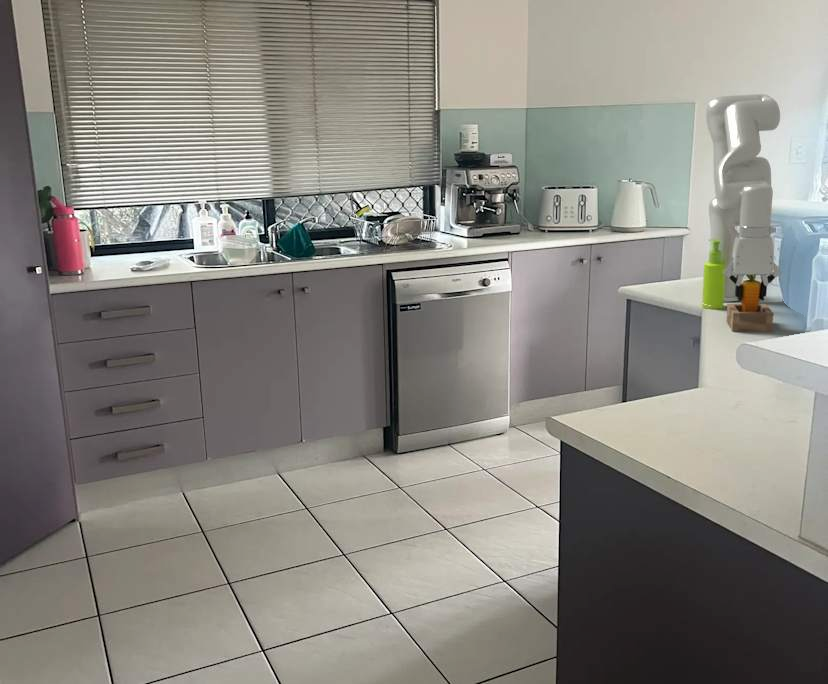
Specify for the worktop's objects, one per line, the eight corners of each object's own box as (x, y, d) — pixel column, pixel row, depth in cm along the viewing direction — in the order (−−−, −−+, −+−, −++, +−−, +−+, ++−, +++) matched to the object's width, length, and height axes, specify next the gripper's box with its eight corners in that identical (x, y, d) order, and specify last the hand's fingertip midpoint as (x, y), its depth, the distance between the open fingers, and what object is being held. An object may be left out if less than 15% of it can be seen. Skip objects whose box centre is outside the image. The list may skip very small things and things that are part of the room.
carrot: (760, 323, 224) (764, 269, 220) (740, 323, 225) (744, 269, 221) (756, 318, 229) (760, 265, 224) (737, 318, 230) (740, 265, 226)
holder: (726, 321, 233) (727, 304, 232) (764, 321, 231) (765, 303, 230) (732, 331, 224) (733, 313, 222) (772, 331, 222) (773, 313, 220)
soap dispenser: (719, 303, 252) (722, 237, 246) (725, 308, 246) (729, 241, 240) (699, 303, 253) (702, 238, 247) (704, 309, 246) (707, 242, 241)
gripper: (785, 229, 222) (780, 295, 227) (718, 230, 225) (715, 296, 231) (792, 234, 215) (787, 302, 220) (722, 235, 218) (719, 302, 223)
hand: (750, 298), depth 225 cm, fingers closed on carrot, 4 cm apart
